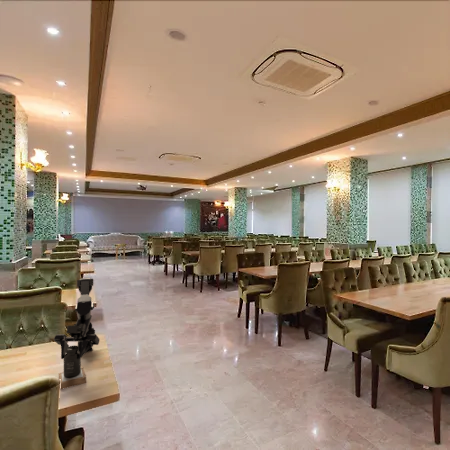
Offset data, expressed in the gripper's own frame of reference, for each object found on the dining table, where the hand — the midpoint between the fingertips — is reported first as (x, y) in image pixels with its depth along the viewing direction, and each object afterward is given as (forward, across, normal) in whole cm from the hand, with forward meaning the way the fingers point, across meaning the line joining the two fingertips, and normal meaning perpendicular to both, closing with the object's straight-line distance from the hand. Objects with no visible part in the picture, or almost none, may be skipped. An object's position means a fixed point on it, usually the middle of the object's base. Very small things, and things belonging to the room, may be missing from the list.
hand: (70, 358), depth 128 cm
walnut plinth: (+6, 0, +8) cm, 10 cm away
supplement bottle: (+5, 0, +7) cm, 8 cm away
